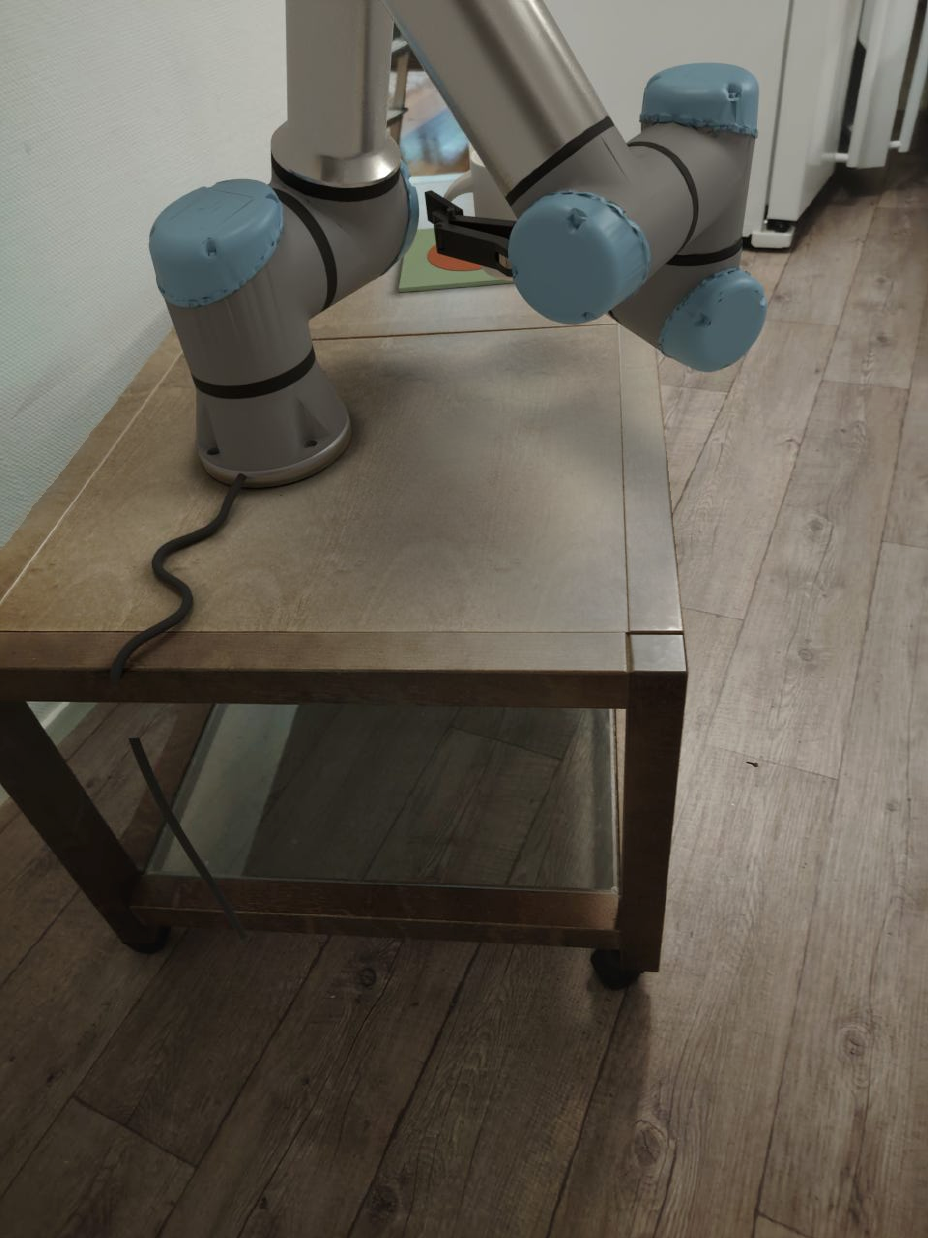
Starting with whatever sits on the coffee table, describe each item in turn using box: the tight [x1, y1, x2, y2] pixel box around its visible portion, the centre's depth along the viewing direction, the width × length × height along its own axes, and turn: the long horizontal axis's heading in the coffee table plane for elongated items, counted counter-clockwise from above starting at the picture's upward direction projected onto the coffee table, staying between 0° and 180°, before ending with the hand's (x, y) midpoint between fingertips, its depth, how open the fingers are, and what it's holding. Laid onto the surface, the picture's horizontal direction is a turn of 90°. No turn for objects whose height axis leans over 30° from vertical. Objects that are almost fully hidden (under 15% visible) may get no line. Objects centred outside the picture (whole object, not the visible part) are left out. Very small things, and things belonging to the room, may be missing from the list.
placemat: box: [398, 227, 514, 293], centre depth 117 cm, size 18×18×1 cm
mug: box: [442, 149, 518, 281], centre depth 87 cm, size 9×12×11 cm
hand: (482, 188), depth 89 cm, fingers closed on mug, 11 cm apart
